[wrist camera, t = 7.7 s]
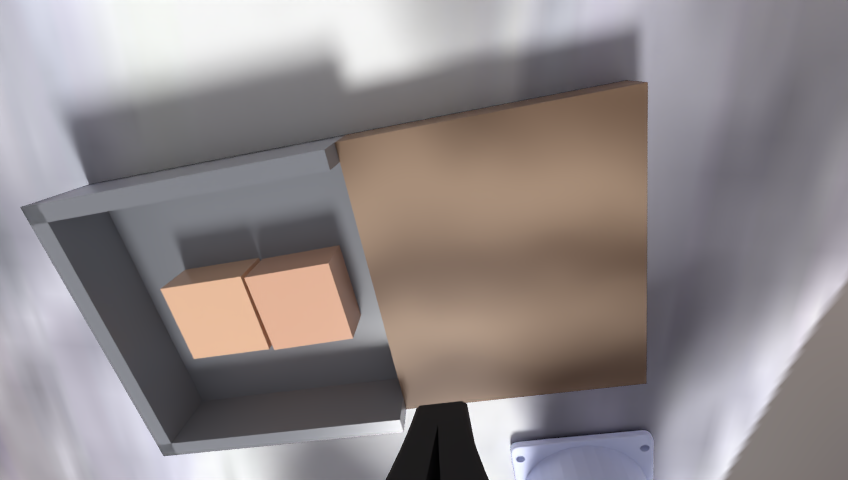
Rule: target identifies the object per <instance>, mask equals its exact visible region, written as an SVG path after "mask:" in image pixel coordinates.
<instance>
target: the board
mask: <svg viewBox="0 0 848 480" xmlns="http://www.w3.org/2000/svg"><path fill="white" fill-rule="evenodd" d="M647 118H648V82H639V81H628V80H626V81H621V82H616V83H611V84H605V85H600V86H595V87H590V88H585V89H580V90H574V91H569V92H564V93H559V94H554V95H549V96H544V97H538V98H533V99H528V100H523V101H518V102H513V103H507V104H502V105H497V106H492V107H487V108H482V109H476V110H471V111H466V112H461V113H456V114H451V115H445V116H440V117H435V118H430V119H425V120H420V121H415V122H409V123H404V124H399V125H394V126H389V127H384V128H378V129H373V130H368V131H363V132H358V133H353V134H347V135H345V136H343V137H342V138H340V139H339V140H337V141H336V142H335V146H336V150H337V154H338V157H339V161H340V165H341V168H342V172H343V176H344V180H345V183H346V187H347V191H348V194H349V198H350V202H351V206H352V209H353V213H354V217H355V220H356V224H357V228H358V232H359V235H360V239H361V243H362V246H363V250H364V254H365V258H366V261H367V265H368V269H369V272H370V276H371V280H372V284H373V287H374V291H375V295H376V298H377V302H378V306H379V310H380V313H381V317H382V321H383V324H384V328H385V332H386V336H387V339H388V343H389V347H390V350H391V354H392V358H393V362H394V365H395V369H396V373H397V376H398V380H399V384H400V388H401V391H402V395H403V399H404V402H405V406H406V409H412V408H418V407H419V406H420V405H429V404H438V403H447V402H456V401H463V402H465V403H468V402H477V401H487V400H496V399H505V398H515V397H524V396H534V395H543V394H552V393H562V392H571V391H580V390H590V389H599V388H608V387H618V386H627V385H636V384H646V371H647Z"/></svg>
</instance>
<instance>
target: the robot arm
mask: <svg viewBox="0 0 848 480" xmlns="http://www.w3.org/2000/svg"><path fill="white" fill-rule="evenodd" d="M642 445H643V446H642ZM510 451H511V457H512V463H513V470H514V476H515V480H653V455H654V440H653V437H652V435H651V433H650V432H649V431H646V430H638V431H628V432H617V433H606V434H596V435H585V436H574V437H564V438H553V439H542V440H532V441H521V442H515V443H513V444H512V445H511V447H510ZM518 456H521V457H518ZM386 480H489V479H488V477H487V474H486V472H485V470H484V467H483V464H482V462H481V459H480V457H479V454H478V451H477V449H476V446H475V442H474V437H473V432H472V427H471V422H470V417H469V412H468V407H467V404H466V403H465V402H463V401H456V402H447V403H438V404H429V405H420V406H419V407H418V408H417V409H416V412H415V415H414V417H413V420H412V423H411V425H410V428H409V430H408V433H407V435H406V438H405V440H404V442H403V444H402V447H401V449H400V451H399V453H398V455H397V457H396V460H395V462H394V464H393V466H392V468H391V470H390V472H389V474H388V476H387V478H386Z"/></svg>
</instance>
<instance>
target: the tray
mask: <svg viewBox="0 0 848 480" xmlns="http://www.w3.org/2000/svg"><path fill="white" fill-rule="evenodd" d="M343 136H345V135H342V136H337V137H332V138H327V139H322V140H316V141H311V142H306V143H301V144H296V145H291V146H286V147H280V148H275V149H270V150H265V151H260V152H255V153H249V154H244V155H239V156H234V157H229V158H224V159H218V160H213V161H208V162H203V163H198V164H193V165H187V166H182V167H177V168H172V169H167V170H162V171H157V172H151V173H146V174H141V175H136V176H131V177H126V178H120V179H115V180H110V181H105V182H100V183H95V184H89V185H86V186H83V187H80V188H77V189H74V190H71V191H68V192H65V193H62V194H59V195H56V196H53V197H50V198H47V199H44V200H41V201H38V202H35V203H32V204H29V205H26V206H23V207H20V208H21V209H22V211H23V213H24V215H25V216H26V218H27V220H28V221H29V223H30V225H31V227H32V228H33V230H34V232H35V234H36V235H37V237H38V239H39V241H40V242H41V244H42V246H43V248H44V249H45V251H46V253H47V254H48V256H49V258H50V260H51V261H52V263H53V265H54V267H55V268H56V270H57V272H58V274H59V275H60V277H61V279H62V280H63V282H64V284H65V286H66V287H67V289H68V291H69V293H70V294H71V296H72V298H73V300H74V301H75V303H76V305H77V307H78V308H79V310H80V312H81V313H82V315H83V317H84V319H85V320H86V322H87V324H88V326H89V327H90V329H91V331H92V333H93V334H94V336H95V338H96V340H97V341H98V343H99V345H100V346H101V348H102V350H103V352H104V353H105V355H106V357H107V359H108V360H109V362H110V364H111V366H112V367H113V369H114V371H115V372H116V374H117V376H118V378H119V379H120V381H121V383H122V385H123V386H124V388H125V390H126V392H127V393H128V395H129V397H130V399H131V400H132V402H133V404H134V405H135V407H136V409H137V411H138V412H139V414H140V416H141V418H142V419H143V421H144V423H145V425H146V426H147V428H148V430H149V431H150V433H151V435H152V437H153V438H154V440H155V442H156V444H157V445H158V447H159V449H160V451H161V452H162V454H163V456H170V455H180V454H190V453H200V452H210V451H220V450H230V449H240V448H250V447H260V446H270V445H280V444H290V443H300V442H310V441H320V440H330V439H340V438H350V437H360V436H370V435H380V434H390V433H400V432H403V431H404V423H405V415H406V406H405V402H404V399H403V395H402V391H401V388H400V384H399V380H398V376H397V373H396V369H395V365H394V362H393V358H392V354H391V350H390V347H389V343H388V339H387V336H386V332H385V328H384V324H383V321H382V317H381V313H380V310H379V306H378V302H377V298H376V295H375V291H374V287H373V284H372V280H371V276H370V272H369V269H368V265H367V261H366V258H365V254H364V250H363V246H362V243H361V239H360V235H359V232H358V228H357V224H356V220H355V217H354V213H353V209H352V206H351V202H350V198H349V194H348V191H347V187H346V183H345V180H344V176H343V172H342V168H341V165H340V161H339V157H338V154H337V150H336V146H335V142H336V141H337V140H339V139H340V138H342V137H343ZM338 245H339V246H340V249H341V252H342V255H343V258H344V262H345V265H346V268H347V271H348V274H349V278H350V281H351V284H352V287H353V291H354V294H355V297H356V300H357V303H358V307H359V310H360V313H361V317H360V320H359V323H358V326H357V329H356V331H355V334H354V337H353V339H346V340H339V341H332V342H326V343H319V344H312V345H305V346H298V347H292V348H285V349H278V350H274V348H273V346H271V347H270V349H267V350H259V351H252V352H244V353H236V354H229V355H221V356H213V357H206V358H198V359H194V358H193V356H192V354H191V352H190V350H189V348H188V346H187V344H186V341H185V339H184V337H183V335H182V333H181V331H180V329H179V327H178V325H177V323H176V321H175V319H174V317H173V315H172V312H171V310H170V308H169V306H168V304H167V302H166V300H165V298H164V296H163V294H162V292H161V290H160V289H161V288H162V287H163V286H165V285H166V284H167V283H169V282H170V281H171V280H173V279H174V278H175V277H176V276H178V275H179V274H180V273H182V272H183V271H184V270H186V269H192V268H199V267H205V266H211V265H217V264H224V263H230V262H236V261H242V260H249V259H255V258H259V259H260V261H261V260H262V259H265V258H270V257H276V256H282V255H287V254H293V253H299V252H304V251H310V250H315V249H321V248H327V247H332V246H338Z"/></svg>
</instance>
